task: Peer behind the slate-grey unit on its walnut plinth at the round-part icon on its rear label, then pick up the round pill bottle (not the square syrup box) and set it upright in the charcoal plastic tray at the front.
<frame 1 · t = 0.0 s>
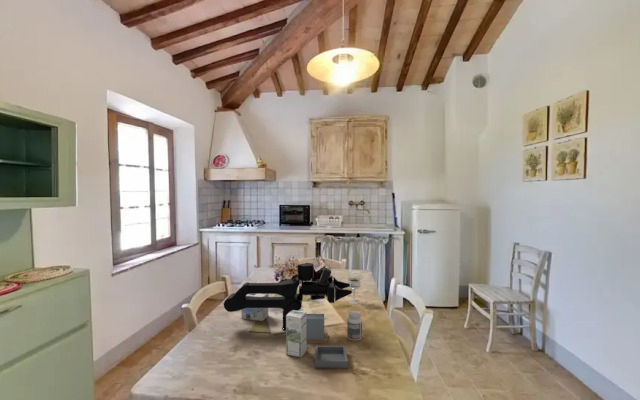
hand: (350, 288, 139), 17 cm above the table, tool horizontal, fingers open, 9 cm apart
parts tray: (330, 360, 113), on the table
syrup box: (296, 353, 118), on the table
wineglass: (353, 302, 170), on the table
light bulb box: (255, 317, 151), on the table
pill bottle: (354, 338, 130), on the table
mounted unit: (313, 339, 129), on the table
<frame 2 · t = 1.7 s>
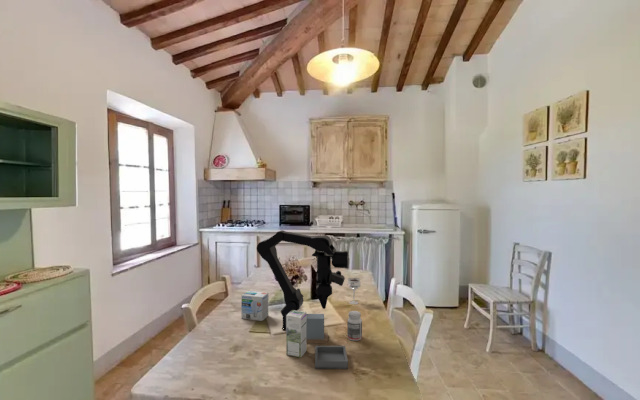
hand: (323, 304, 136), 11 cm above the table, tool pointing down, fingers open, 9 cm apart
nothing on the table moved.
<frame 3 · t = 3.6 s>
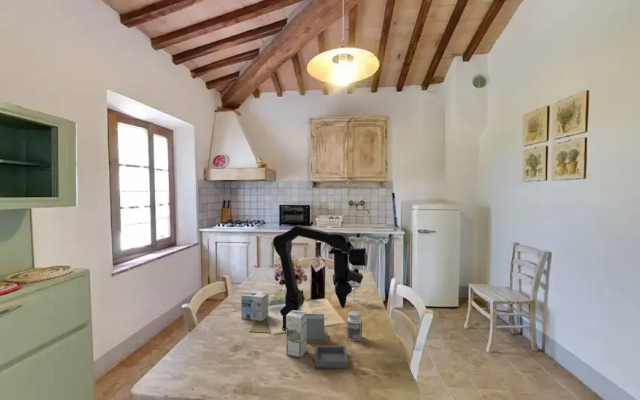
hand: (342, 303, 132), 13 cm above the table, tool pointing down, fingers open, 9 cm apart
nothing on the table moved.
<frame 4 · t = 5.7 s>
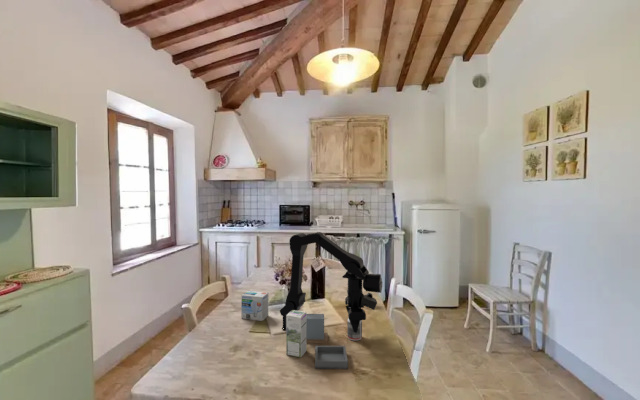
hand: (354, 329, 130), 4 cm above the table, tool pointing down, fingers closed on pill bottle, 6 cm apart
pill bottle: (354, 338, 130), on the table, touching gripper
everything else where it was.
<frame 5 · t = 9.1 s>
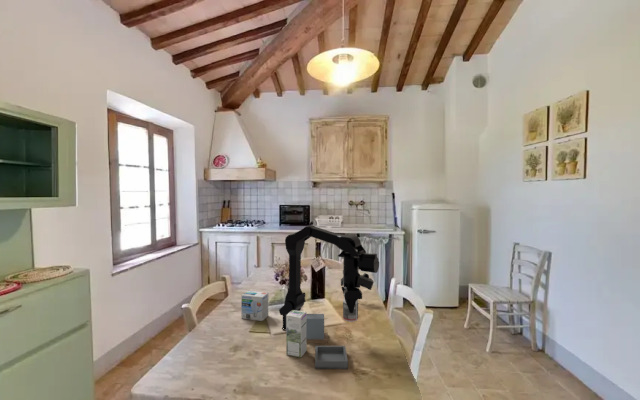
hand: (350, 309, 126), 12 cm above the table, tool pointing down, fingers closed on pill bottle, 6 cm apart
pill bottle: (350, 319, 126), point 9 cm above the table, touching gripper
everything else where it was.
when the fingers open (5 cm above the table, at t = 12.4 s): pill bottle drops 1 cm, resting on parts tray.
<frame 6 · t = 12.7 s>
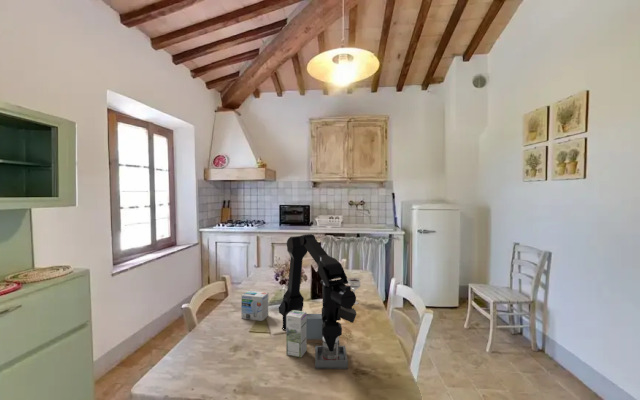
hand: (330, 344, 113), 5 cm above the table, tool pointing down, fingers open, 9 cm apart
pill bottle: (330, 359, 113), resting on parts tray
everything else where it was.
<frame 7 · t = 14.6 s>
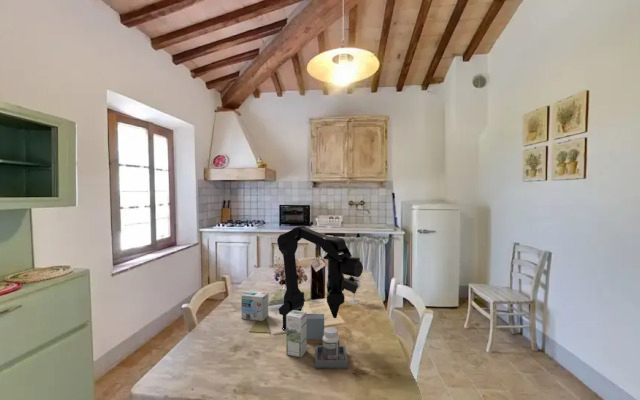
hand: (334, 313, 125), 12 cm above the table, tool pointing down, fingers open, 9 cm apart
nothing on the table moved.
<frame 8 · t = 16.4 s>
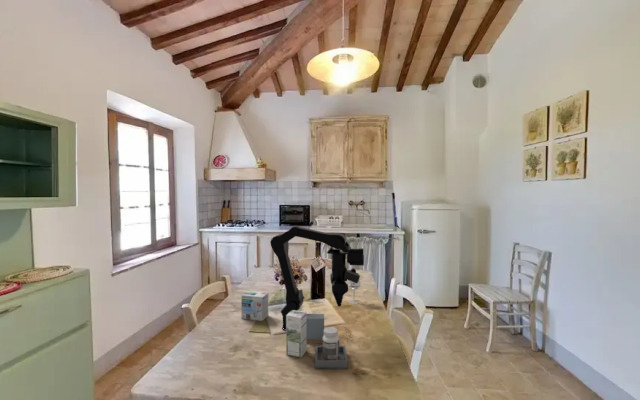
hand: (338, 302, 135), 12 cm above the table, tool pointing down, fingers open, 9 cm apart
nothing on the table moved.
at the end: pill bottle 0.0 cm off-centre on the parts tray, point 0.4 cm above the parts tray's base; pill bottle tilted 0°; the gripper is holding nothing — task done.
